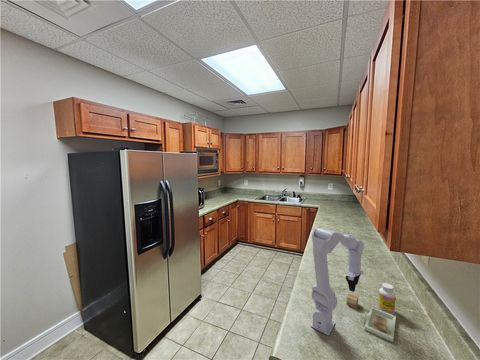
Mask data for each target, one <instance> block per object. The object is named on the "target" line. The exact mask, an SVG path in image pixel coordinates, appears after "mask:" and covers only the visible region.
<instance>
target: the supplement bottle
mask: <svg viewBox="0 0 480 360" xmlns="http://www.w3.org/2000/svg"><path fill="white" fill-rule="evenodd" d="M378 291H379V292H378V310H381V311H383V312H386V313H389V314H391V315H394V314H395V311H396V299H397V297H396V296H397V295H396V293H395V291H394V286H393V285H392V284H391V283H387V282H384V283H382V284H381V287H380V288H379V289H378Z"/></svg>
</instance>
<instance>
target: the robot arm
mask: <svg viewBox="0 0 480 360" xmlns="http://www.w3.org/2000/svg"><path fill="white" fill-rule="evenodd" d="M311 240H312V241H311V242H312V247H313V248H312V253H313V265H314V273H315V283H314V284H313V285H312V286H311V298H312V300H313V303H314V304H315V306H314V307H315V309H314V312H313V313H312V322H311V324H310V327H311V328H313V329H315V330H317V331H319V332H321V333H322V334H324V335H327V336H330V334H331V332H332V330H333V328H334V326H335V324H336V321H335V320H333V311H334V310H336V308H337V305H338V299H337V298H338V297H337V296H336V292H335V291H334V289H333V288H332V287H331V285H330V278H329V277H330V275H329V265H328V254H331V253H332V252H333V251H334V249H335V248H336V247H337V246H338V245H339V243H340V245H341V246H343V247H345V248H347V250H348V251H347V254H348V255H347V273H348V275H345V278H344V279H345V280H346V282H347V285H348V291H350V292H351V293H352V292H353V293H354V292H355V291H356V287H357V286H358V283H359V282H360V281H359V280H360V277H361V276H363V275H364V272H363V270H361V268H362V265H361V264H362V255H363V251H364V249H365V245H364V244H365V243H364V242H363V241H362V240H360V239H357V238H356V237H354V236H352V235H351V234H349V233H347V234H342V233H340V232H338V231H335V230H332V229H328V228H324V227H323V228H322V227H320V226H317V227H315V228H314V230H313V232H312V233H311Z"/></svg>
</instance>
